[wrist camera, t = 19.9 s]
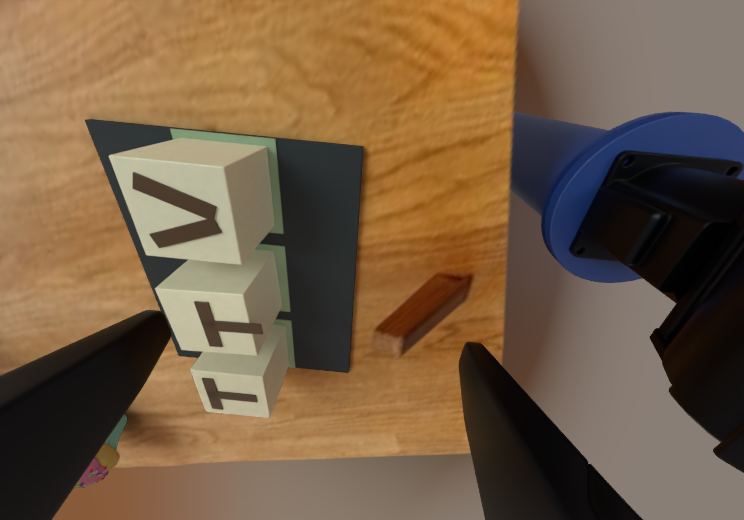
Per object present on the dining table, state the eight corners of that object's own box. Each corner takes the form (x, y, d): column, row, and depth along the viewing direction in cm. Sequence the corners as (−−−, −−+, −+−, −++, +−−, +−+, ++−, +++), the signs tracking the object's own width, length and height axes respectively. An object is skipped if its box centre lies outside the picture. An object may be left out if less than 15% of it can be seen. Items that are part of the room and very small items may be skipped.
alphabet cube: (285, 325, 24) (262, 378, 19) (289, 364, 26) (269, 419, 22) (225, 318, 24) (188, 371, 19) (235, 359, 26) (205, 413, 22)
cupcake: (86, 428, 36) (-37, 567, 25) (51, 386, 31) (-115, 533, 21) (154, 435, 35) (59, 576, 25) (129, 393, 31) (1, 544, 21)
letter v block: (267, 146, 16) (222, 167, 12) (275, 225, 19) (240, 266, 15) (180, 137, 16) (104, 155, 12) (200, 217, 19) (144, 256, 15)
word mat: (363, 146, 17) (362, 147, 16) (349, 369, 27) (348, 374, 27) (90, 119, 17) (82, 120, 16) (181, 352, 27) (177, 356, 27)
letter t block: (284, 251, 20) (254, 296, 16) (291, 305, 23) (267, 358, 18) (204, 245, 20) (152, 289, 16) (220, 300, 23) (180, 351, 18)
